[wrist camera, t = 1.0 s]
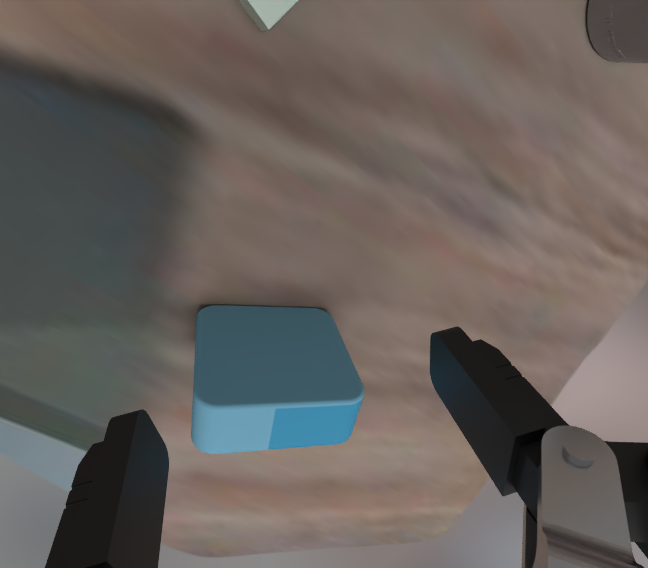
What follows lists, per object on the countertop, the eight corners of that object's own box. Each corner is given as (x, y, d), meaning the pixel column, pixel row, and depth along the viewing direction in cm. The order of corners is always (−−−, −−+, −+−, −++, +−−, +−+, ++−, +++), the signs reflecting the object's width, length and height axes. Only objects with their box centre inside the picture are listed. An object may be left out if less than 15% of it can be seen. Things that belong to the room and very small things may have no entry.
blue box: (195, 344, 36) (190, 458, 26) (197, 303, 34) (192, 409, 24) (320, 344, 40) (357, 444, 30) (328, 307, 38) (371, 400, 28)
